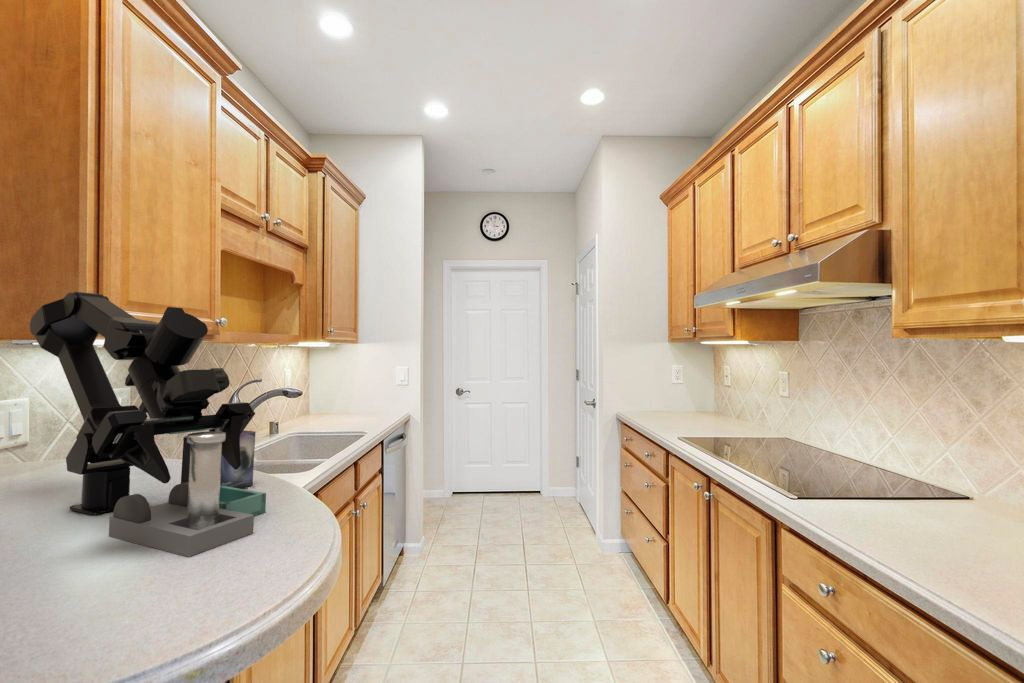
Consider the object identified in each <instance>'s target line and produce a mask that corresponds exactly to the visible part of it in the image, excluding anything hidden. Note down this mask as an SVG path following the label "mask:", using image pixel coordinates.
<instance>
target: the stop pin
mask: <svg viewBox="0 0 1024 683" xmlns="http://www.w3.org/2000/svg"><path fill="white" fill-rule="evenodd" d="M186 436H187V443H188V444H190V464H189V486H188V509H187V528H189V529H193V530H199V529H202V528H205V527H209V526H212V525H215V524H218V523H219V501H220V477H221V454H222V442H224V441H225V440H226V433H225V432H218V431H209V430H208V431H196V432H190V433H187V435H186Z"/></svg>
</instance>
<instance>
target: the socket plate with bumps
mask: <svg viewBox="0 0 1024 683" xmlns="http://www.w3.org/2000/svg"><path fill="white" fill-rule="evenodd" d="M188 486H189V482H186V483H182V484H181V483H178V484H175V485H174V486H172V488H171V490H170V492H169V495H168V500H167V502H164V503H161V504H160V503H159V504H156V505H152V506H150V504H149V501H148V500H147V498H145V496H144V495H142V494H140V493H133V494H129V496H125V497H122V498H120V499H119V500H118V501H117V503H116V505H115V507H114V510H113V511H112V512H113V513H112V516H109V522H108V537H110V538H115V539H117V540H118V539H119V540H123V541H125V542H126V541H127V542H130V543H133V544H138V545H142V546H145V547H149V548H152V547H153V549H156V550H160V551H165V552H168V553H172V554H177V555H181V556H183V557H187V558H190V557H193V556H196V555H198V554H201V553H204V552H206V551H209V550H212V549H215V548H216V547H220V546H222V545H225V544H228V543H231V542H234V541H236V540H239V539H242V538H244V537H246V536H250V535H252V534H254V524H255V523H254V522H255V518H254V517H255V516H254V515H252V514H247V513H241V512H236V511H231V510H226V509H221V508H219V523H218V524H215V525H212V526H209V527H205V528H202V529H199V530H193V529H189V528H187V509H188Z"/></svg>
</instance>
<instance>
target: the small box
mask: <svg viewBox="0 0 1024 683" xmlns="http://www.w3.org/2000/svg"><path fill="white" fill-rule="evenodd" d="M256 433H257V432H256V431H253V430H245V429H244V430H243V432H242V433H241V434H240V457H241V465H240V467H239V468H238V469H236V470H235V469H234V468H233V467H232V466H231V465H230V464H229V463H228V462H227V460H226V459H225V458H224V456H223V455H222V454H221V477H220V486H227V487H233V488H239V489H247V488H251V487H253V485H254V467H255V466H254V465H255V446H256ZM182 442H183V443H182V458H181V472H180V474H181V476H180V484H182V483H186V482H189V464H190V444H188V443H187V435H185V436H183V440H182Z"/></svg>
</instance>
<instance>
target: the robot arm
mask: <svg viewBox="0 0 1024 683" xmlns="http://www.w3.org/2000/svg"><path fill="white" fill-rule="evenodd" d="M208 329H209V328H208V326H207V324H206V323H205V322H203V321H202V320H201V319H199V318H198V317H196V316H194V315H192V314H190V313H187V312H185V311H184V308H183V307H175V306H174V307H173V306H167V307H166V309H165V310H164V313H163V315H162V317H161V319H160V320H159V322H156V321H152V320H145V319H139V318H138V317H137V318H136V317H135V316H133V315H131V314H130V313H128V312H127V311H126V310H124V309H122V307H119V306H117V305H116V304H115V303H113V302H112V301H111V300H110V299H109V297H108V296H106V295H104V294H101V293H93V292H92V293H91V292H85V291H84V292H83V291H74V292H69V293H68V292H67V293H66V295H65V296H63V298H61V299H58V300H55V301H52V302H49V303H45V304H43V305H42V306H40V307H39V309H38V310H37V311H36V312H35V313H34V314H33V315H32V317H31V319H30V321H29V331H30V333H31V335H32V336H34V338H35V340H36V342H37V344H38V345H39V346H40V348H41V349H43V350H44V351H45V352H48V353H50V354H51V355H53V356H55V357H57V358H58V360H59V362H60V365H61V367H62V370H63V372H64V375H65V376H66V377H65V378H66V380H67V382H68V385H69V387H70V389H71V391H72V395H73V397H74V399H75V402H76V405H77V407H78V409H79V411H80V414H81V417H82V419H83V423H82V425H81V427H80V429H79V430H78V433H77V435H76V437H75V439H76V440H75V442H74V443H73V444H72V446H71V448H70V450H69V451H68V454H67V455H66V457H65V463H66V471H67V472H69V473H74V474H77V475H80V476H81V475H82V483H81V484H82V485H81V503H78V504H73V505H70V506H69V510H70V511H75V512H79V513H82V514H86V515H91V516H93V515H99V514H103V513H108V512H111V511H112V512H113V511H114V507H115V505H116V503H117V501H118V500H119V499H120V498H122V497H125V496H129V495H130V484H131V478H130V477H131V467H136V468H138V469H139V470H141V471H143V472H144V473H146V474H147V475H149V476H151V477H152V478H154V479H155V480H157V481H158V482H160V483H162V484H168V483H169V482H170V480H171V479H172V478H171V473H170V470H169V468H168V466H167V464H166V462H165V459H164V458H163V456H162V453H161V451H160V450H159V447H158V446H157V443H156V440H155V436H157V435H160V436H161V435H176V434H185V433H196V432H204V431H208V432H209V431H218V432H225V433H226V440H225V441H224V442H222V455H223V456H224V458H225V459H226V460H227V462H228V463H229V464H230V465H231V466H232V467H233V468H234V469H235V470H236V469H238V468H239V467H240V465H241V457H240V434H241V433H242V432H243V430H244V431H245V429H246V427H247V426H248V424H250V422H251V421H252V419H253V418H254V416H255V415H256V413H255V411H254V409H253V407H252V405H251V404H250V403H249V402H244V401H242V402H231V403H222V404H221V405H220V407H219V408H218V410H216V413H215V414H208V415H203V413H202V411H203V410H206V409H208V407H209V405H210V402H209V400H208V399H209V398H210V397H213V396H214V395H215V394H219V393H222V392H224V391H225V390H226V389H227V388H229V387H230V378H229V376H228V374H227V373H226V371H225V370H224V369H223V368H222V367H213V368H210V369H186V370H184V369H183V370H182V371H181V370H180V368H179V366H184V365H186V364H189V363H190V361H191V360H192V358H193V357H194V355H195V353H196V352H197V350H198V349H199V347H200V345H201V344H202V343H203V341H204V339H205V337H206V336H207V334H208ZM98 335H101V336H102V337H103V338H104V343H103V348H104V350H106V352H107V353H108V354H109V355H110V357H111V358H113V360H115V361H131V363H130V364H129V366H128V369H127V370H128V373H127V375H126V377H125V380H124V385H125V386H126V387H135V389H136V390H137V393H138V396H139V398H140V399H141V401H142V402H141V403H140V405H139V406H138V407H137V406H136V405H134V404H133V405H132V404H131V405H121V404H120V401H119V400H118V398H117V395H116V392H115V391H114V389H113V387H112V384H111V381H110V380H109V377H108V375H107V373H106V370H105V369H104V366H103V364H102V362H101V360H100V356H98V353H97V351H96V348H95V347H94V343H95V342H96V339H97V337H98ZM148 417H149V418H148Z"/></svg>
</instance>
